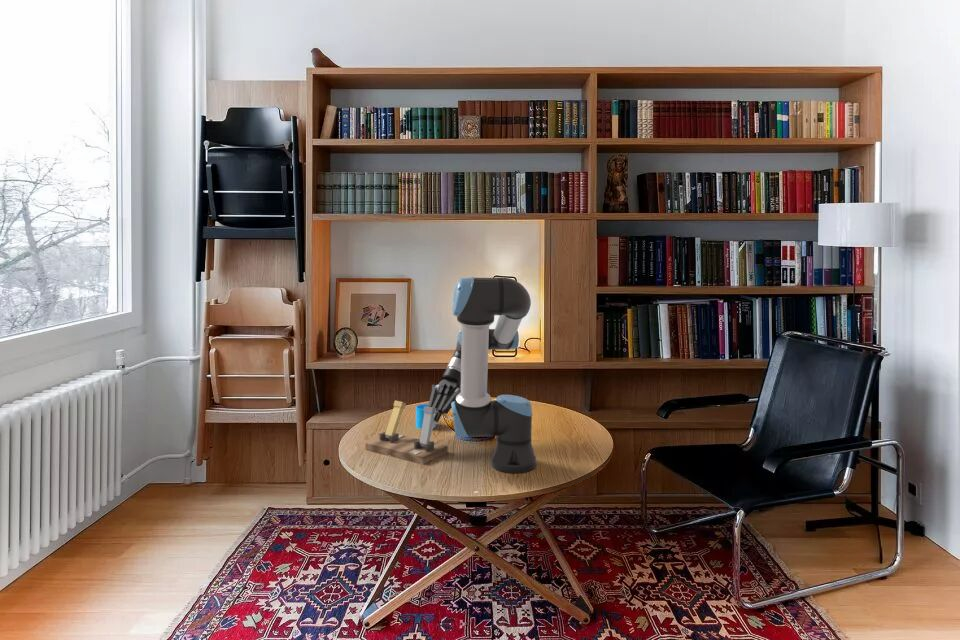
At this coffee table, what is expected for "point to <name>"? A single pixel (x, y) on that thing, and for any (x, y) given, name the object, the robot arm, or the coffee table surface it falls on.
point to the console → (406, 448)
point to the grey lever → (427, 425)
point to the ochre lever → (395, 418)
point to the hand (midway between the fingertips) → (428, 428)
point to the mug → (420, 415)
